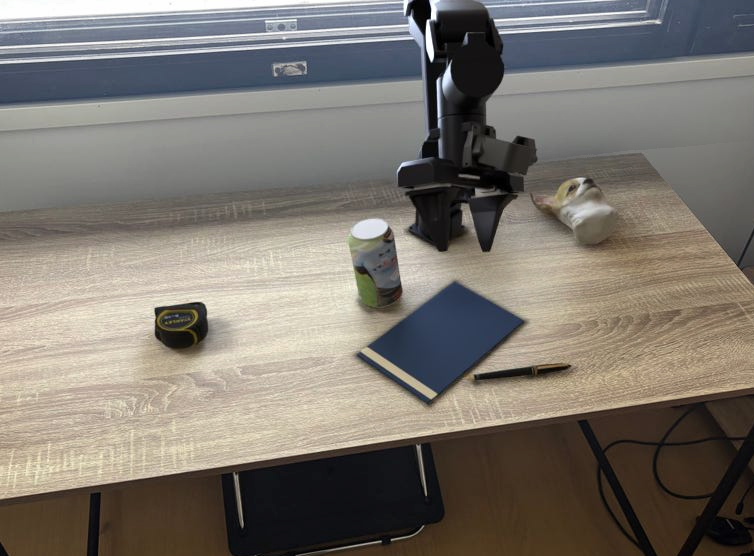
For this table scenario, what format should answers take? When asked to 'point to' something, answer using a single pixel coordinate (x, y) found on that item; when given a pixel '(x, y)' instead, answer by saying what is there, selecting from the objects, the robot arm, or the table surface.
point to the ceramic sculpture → (580, 209)
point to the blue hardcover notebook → (440, 341)
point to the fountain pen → (521, 371)
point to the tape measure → (181, 324)
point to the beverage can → (375, 262)
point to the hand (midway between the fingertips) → (465, 251)
